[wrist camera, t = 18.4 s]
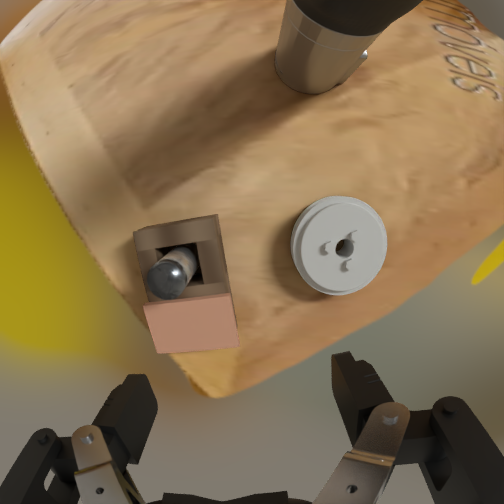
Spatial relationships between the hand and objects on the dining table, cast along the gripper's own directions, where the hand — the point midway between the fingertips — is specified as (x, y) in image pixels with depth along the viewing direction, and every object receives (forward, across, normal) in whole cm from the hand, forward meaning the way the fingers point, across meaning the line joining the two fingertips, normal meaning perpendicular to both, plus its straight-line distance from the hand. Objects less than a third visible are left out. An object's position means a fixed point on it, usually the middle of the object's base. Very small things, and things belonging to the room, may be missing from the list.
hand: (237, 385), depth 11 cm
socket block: (+28, +8, +3) cm, 29 cm away
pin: (+28, +8, 0) cm, 29 cm away
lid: (+29, -12, +1) cm, 31 cm away
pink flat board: (+23, +8, +7) cm, 26 cm away
